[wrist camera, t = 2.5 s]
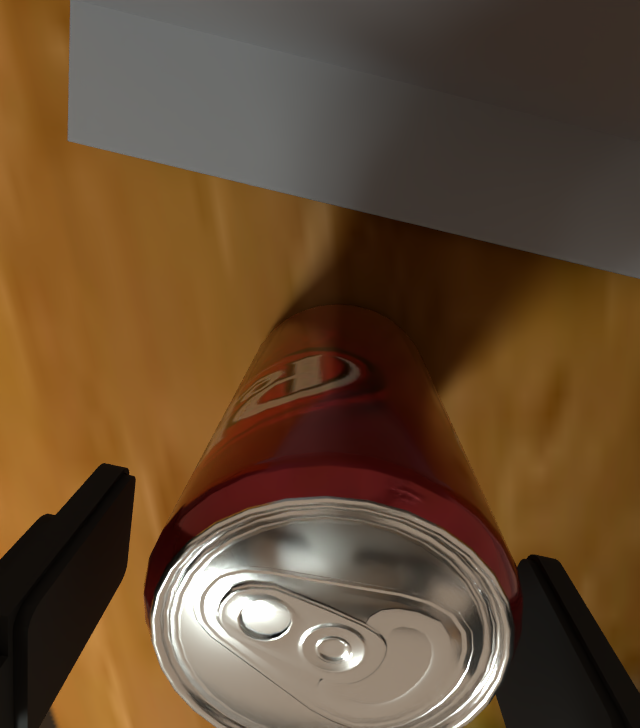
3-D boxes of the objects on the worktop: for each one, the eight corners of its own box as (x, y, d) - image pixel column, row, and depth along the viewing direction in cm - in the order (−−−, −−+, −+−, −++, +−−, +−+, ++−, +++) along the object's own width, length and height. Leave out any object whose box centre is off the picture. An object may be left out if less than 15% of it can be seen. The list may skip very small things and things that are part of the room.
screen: (93, -63, 14) (-647, -801, 4) (755, 106, 15) (1761, -91, 4) (86, 144, 17) (-391, 63, 6) (665, 283, 17) (1192, 441, 7)
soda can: (460, 362, 19) (630, 618, 8) (359, 484, 21) (376, 815, 10) (311, 264, 18) (255, 395, 6) (222, 404, 20) (68, 677, 9)
